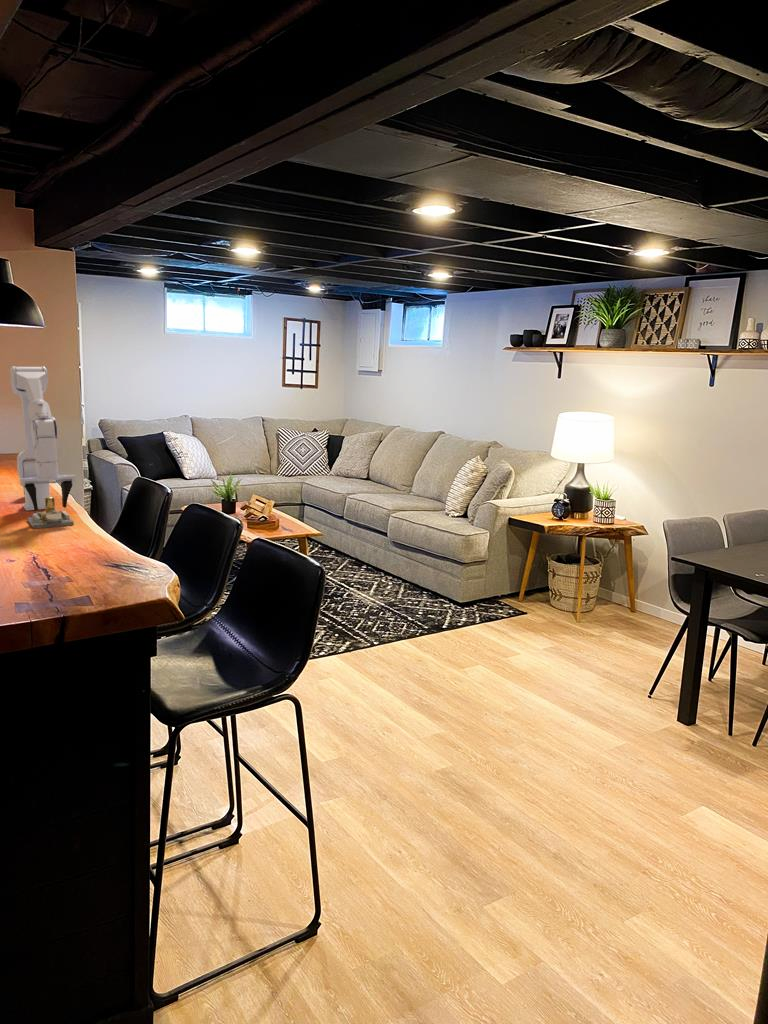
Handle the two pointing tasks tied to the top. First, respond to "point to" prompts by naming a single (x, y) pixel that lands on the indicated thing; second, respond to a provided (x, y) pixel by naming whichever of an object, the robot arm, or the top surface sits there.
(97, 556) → the top surface
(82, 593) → the top surface
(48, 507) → the planet gear
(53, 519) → the carrier
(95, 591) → the top surface
